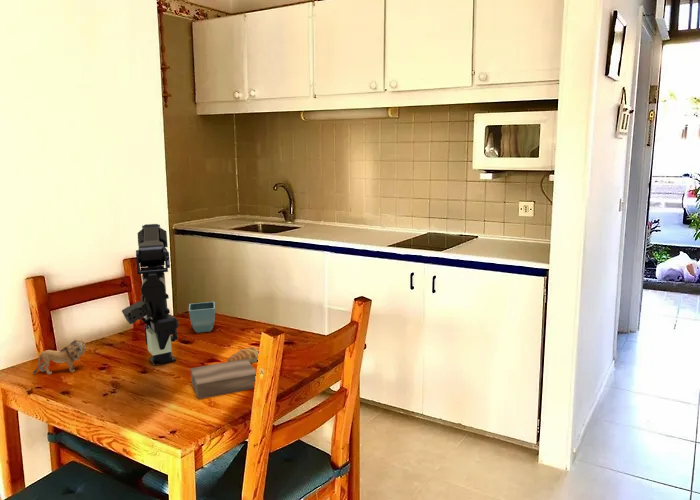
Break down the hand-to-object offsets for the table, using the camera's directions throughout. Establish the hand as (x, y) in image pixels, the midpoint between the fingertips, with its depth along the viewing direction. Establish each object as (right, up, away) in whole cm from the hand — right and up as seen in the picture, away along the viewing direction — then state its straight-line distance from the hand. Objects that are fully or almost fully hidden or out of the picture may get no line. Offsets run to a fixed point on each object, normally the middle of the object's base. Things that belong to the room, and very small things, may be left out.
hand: (159, 346), depth 160 cm
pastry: (+20, -8, +18) cm, 28 cm away
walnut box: (+17, -11, +2) cm, 21 cm away
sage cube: (0, -1, 0) cm, 1 cm away
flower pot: (0, -2, +47) cm, 47 cm away
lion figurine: (-33, -9, +14) cm, 37 cm away
